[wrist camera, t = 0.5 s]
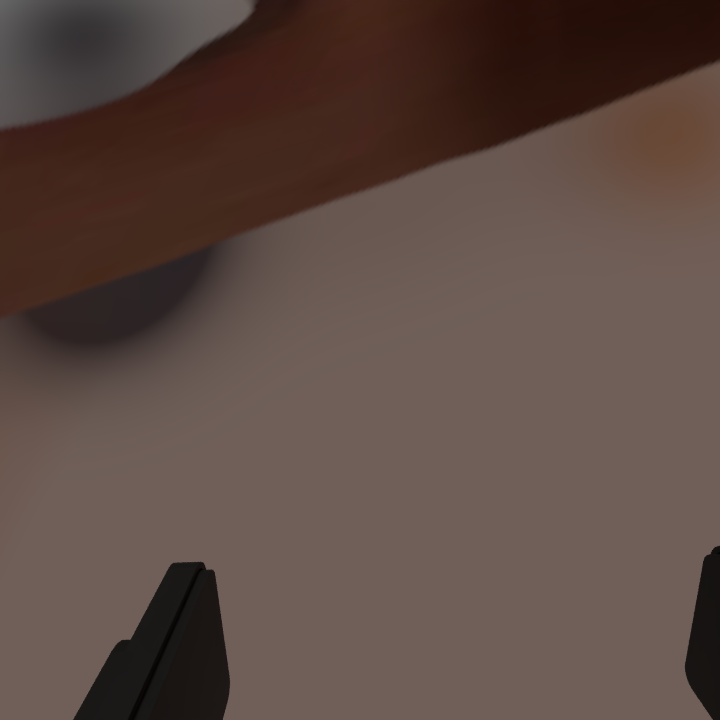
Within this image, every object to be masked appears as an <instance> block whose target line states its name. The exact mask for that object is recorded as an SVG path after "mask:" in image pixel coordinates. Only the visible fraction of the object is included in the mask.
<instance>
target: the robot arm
mask: <svg viewBox="0 0 720 720" xmlns="http://www.w3.org/2000/svg"><path fill="white" fill-rule="evenodd" d="M685 672H686V676H687V679H688V682H689V685H690V686H691V688H692V690H693V691H694V693H695V694H696V695H697V697H698V699H699V700H700V701H701V703H702V704H703V706H704V707H705V709H706V710H707V712H708V713H709V715H710V716H711V718H712V719H713V720H720V546H717V547H715V548H714V549H713V550H712V552H711V554H710V555H707V556H706V557H705V558H704V561H703V566H702V573H701V578H700V584H699V589H698V595H697V600H696V606H695V612H694V618H693V623H692V629H691V634H690V640H689V645H688V651H687V657H686V662H685ZM229 688H230V678H229V670H228V662H227V655H226V649H225V642H224V635H223V627H222V620H221V614H220V607H219V599H218V591H217V584H216V578H215V572H214V571H213V570H206V568H205V565H204V563H203V562H187V563H186V562H183V563H173V564H171V566H170V567H169V569H168V571H167V572H166V574H165V576H164V578H163V580H162V582H161V584H160V585H159V587H158V589H157V591H156V593H155V595H154V597H153V599H152V601H151V602H150V604H149V606H148V608H147V610H146V612H145V614H144V616H143V617H142V619H141V621H140V623H139V625H138V627H137V629H136V631H135V633H134V635H133V636H132V638H131V640H121V641H120V642H119V643H117V645H116V646H115V647H114V649H113V650H112V651H111V653H110V655H109V657H108V659H107V661H106V663H105V664H104V666H103V667H102V669H101V671H100V673H99V675H98V677H97V678H96V680H95V682H94V684H93V685H92V687H91V689H90V691H89V692H88V694H87V696H86V698H85V700H84V701H83V703H82V705H81V707H80V709H79V710H78V712H77V714H76V716H75V717H74V719H73V720H223V716H224V713H225V709H226V705H227V701H228V697H229Z"/></svg>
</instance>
